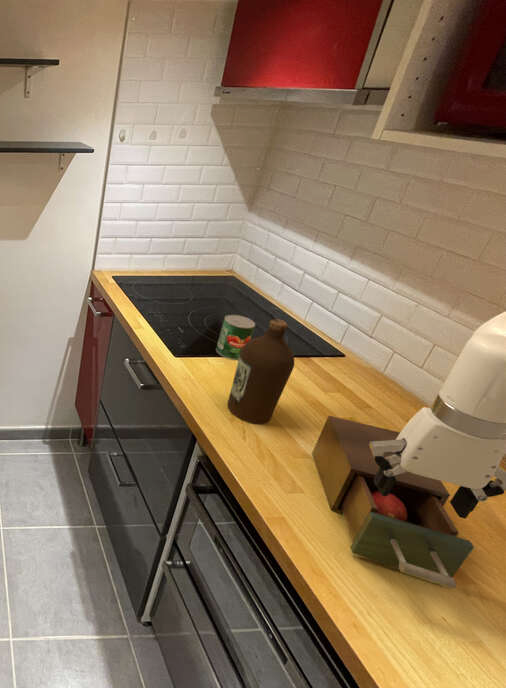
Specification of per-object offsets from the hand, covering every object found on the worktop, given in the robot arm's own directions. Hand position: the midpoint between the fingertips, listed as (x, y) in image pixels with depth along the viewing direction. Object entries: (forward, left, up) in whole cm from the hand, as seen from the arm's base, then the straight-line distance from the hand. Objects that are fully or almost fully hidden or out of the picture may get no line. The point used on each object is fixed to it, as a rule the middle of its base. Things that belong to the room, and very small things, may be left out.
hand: (417, 499), depth 72 cm
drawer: (0, 0, -11) cm, 11 cm away
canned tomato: (+20, -59, -12) cm, 64 cm away
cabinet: (0, -13, -12) cm, 18 cm away
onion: (+1, -1, -5) cm, 6 cm away
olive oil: (+18, -31, -12) cm, 38 cm away
